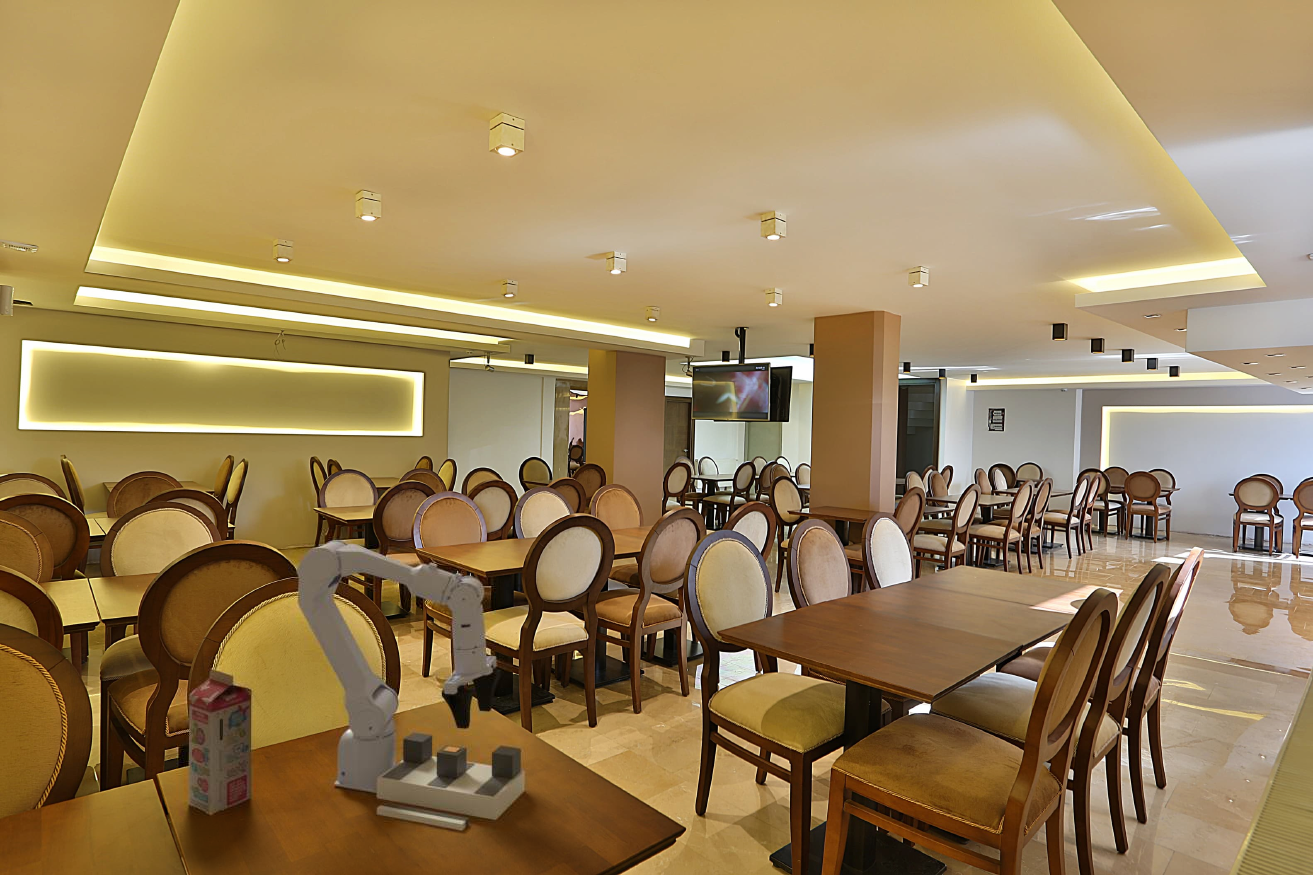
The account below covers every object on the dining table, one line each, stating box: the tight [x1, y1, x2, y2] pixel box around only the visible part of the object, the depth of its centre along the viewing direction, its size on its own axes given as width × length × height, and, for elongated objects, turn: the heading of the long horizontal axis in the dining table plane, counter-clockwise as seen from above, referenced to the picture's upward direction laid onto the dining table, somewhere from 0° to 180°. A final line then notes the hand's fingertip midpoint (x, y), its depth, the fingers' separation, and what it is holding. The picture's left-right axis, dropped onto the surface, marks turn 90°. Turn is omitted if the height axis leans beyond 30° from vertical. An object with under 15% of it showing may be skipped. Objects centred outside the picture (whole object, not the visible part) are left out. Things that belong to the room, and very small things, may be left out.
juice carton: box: [188, 668, 253, 814], centre depth 121 cm, size 7×7×22 cm
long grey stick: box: [376, 802, 469, 831], centre depth 116 cm, size 16×2×1 cm, turn 73°
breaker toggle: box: [436, 744, 468, 779], centre depth 124 cm, size 4×3×4 cm
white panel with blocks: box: [376, 732, 526, 821], centre depth 124 cm, size 23×10×8 cm, turn 73°
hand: (474, 718), depth 130 cm, fingers open, 7 cm apart
